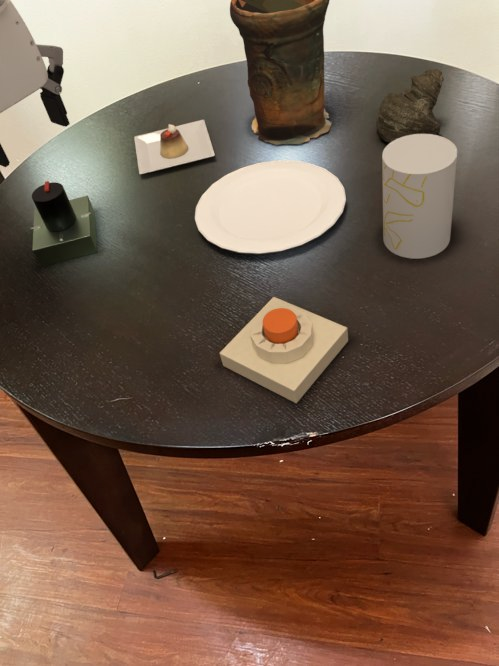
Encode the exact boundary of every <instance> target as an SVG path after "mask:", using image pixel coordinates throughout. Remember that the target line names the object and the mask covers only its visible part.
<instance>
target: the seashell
mask: <svg viewBox="0 0 499 666" xmlns="http://www.w3.org/2000/svg"><path fill="white" fill-rule="evenodd" d="M410 80H411V85H410V88H409V89H408V90H404V92H401V93H391V92H390V93H387V95H386V96H385V97H384V98H383V99H382V101H381V104H380V106H379V111H378V117H377V119H376V122H375V126H376V128H377V132H378V135H379V137H380V139H382V140H383V141H384V142H386V143H388V144H389V143H391V142H392V141H394V140H396V139H398V138H401V137H404V136H407V135H413V134H432V135H437V134H438V133H439V132H440V131H441V129H442V125H441V124H440V123H439V121H438V120H437V119H436V117H435V114H434V111H433V110H434V108H435V106H436V105H437V101H438V98H439V95H440V93H441V90H442V86H443V82H444V77H443V72H442V71H441V69H438V68H436V69H427V70H425V71H424V72H423V73H422V74H420V75H419V74H417V75H413V76H411V77H410Z"/></svg>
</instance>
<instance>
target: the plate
mask: <svg viewBox="0 0 499 666" xmlns="http://www.w3.org/2000/svg"><path fill="white" fill-rule="evenodd" d="M343 185H344V184H343V183H342V182H341V180H340V179H339V178H338V176H337V175H335V174H333V173H332V172H330V171H329V170H327V169H326V168H324V167H321V166H319V165H317V164H313V163H311V162H305V161H301V160H293V159H291V160H290V159H289V160H288V159H286V160H284V159H283V160H280V159H277V160H269V161H261V162H257V163H254V164H253V163H252V164H249V165H246V166H243V167H241V168H238V169H236V170H233V171H231V172H229V173H227V174H225V175H224V176H222V177H220V178H219V179H218V180H217V181H215V182H213V183H212V184H211V185H210V186H209V187H208V188H207V189H206V190H205V192H204V193H202V194H201V197H200V198H199V200H198V202H197V203H196V205H195V211H194V221H195V224H196V228H197V230H198V232H199V233H200V234H201V235H202V236H203V238H204V239H205V240H206V241H207V242H209V243H211V244H213V245H214V246H216V247H217V248H220V249H221V250H226V251H229V252H232V253H237V254H244V255H245V254H246V255H268V254H274V253H275V254H276V253H283V252H286V251H289V250H293V249H296V248H300V247H302V246H305V245H306V244H308V243H310V242H313V241H314V240H316V239H318V238H321V236H323V235H325V233H326V232H328V231H329V230H330V229H332V228H333V227H334V226H335V224H336V223H337V222H338V220H340V218H341V216H342V215H343V213H344V209H345V206H346V202H347V197H346V190H345V187H344V186H343Z"/></svg>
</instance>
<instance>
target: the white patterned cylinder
mask: <svg viewBox="0 0 499 666" xmlns="http://www.w3.org/2000/svg"><path fill="white" fill-rule="evenodd" d="M381 155H382V157H381V158H382V159H381V160H382V161H381V163H382V164H381V165H382V166H381V167H382V169H381V170H382V242H383V245H384V246H385V247H386V248H387V250H388V251H390V253H392V254H394V255H396V256H399V257H401V258H407V259H417V260H418V259H426V258H431V257H433V256H436V255H438V254H440V253H441V252H443V251H444V250H445V249H446V248H447V247H448V246H449V244H450V243H451V233H452V223H453V222H452V221H453V209H454V198H455V186H456V185H455V184H456V175H457V174H456V173H457V162H458V148H457V146H456V145H455V143H453V141H451V140H450V139H448V138H446V137H443V136H440V135H437V134H434V135H432V134H413V135H407V136H404V137H401V138H398V139H396V140H394V141H392V142H391V143H388V144H387V145H386V146H385V147H384V149H383V151H382V154H381Z"/></svg>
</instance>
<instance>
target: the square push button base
mask: <svg viewBox="0 0 499 666" xmlns="http://www.w3.org/2000/svg"><path fill="white" fill-rule="evenodd" d="M278 308H286V309H289V310H291V311H293V312H294V313H295V315H296V317H297V323H298V334H297V336H296V337H295V338H294V339H293V340H291V341H289V342H287V343H283V344H277V343H273V342H271V341H269V340H268V339H267V338H266V336H265V332H264V328H263V318H264V316H265V315H266V314H267V313H268V312H270V311H271V310H274V309H278ZM348 331H349V330H348V327H347V326H345V325H342V324H340V323H337V322H335V321H332V320H330V319H329V318H326V317H324V316H320V315H319V314H316V313H314V312H311V311H309V310H306V309H305V308H302V307H299V306H297V305H295V304H292V303H289V302H288V301H285V300H283V299H280V298H278V297H275V296H273V297H272V298H271V299H270V300H269V301H268V302H267V303H266V304H265V305H264V306H263V307H262V308H261V309H260V310H259V311H258V313H256V314H255V315H254V316H253V318H251V320H250V321H249V322H248V323H247V324H246V325H245V326H243V328H242V329H241V330H240V331H239V332H238V333H237V334H236V335H235V336H234V337H233V338H232V339H231V340H230V341H229V342H228V343H227V345H226V346H225V347H224V348H223V349H222V350H220V351H219V356H220V360H221V363H222V366H223V367H224V368H227V369H228V370H230V371H232V372H233V373H236V374H238V375H240V376H242V377H244V378H245V379H247V380H250V381H252V382H253V383H255V384H258V385H260V386H262V388H263V387H264V388H265V389H267V390H269V391H271V392H273V393H275V394H277V395H279V396H281V397H283V398H285V399H286V400H289V401H291V402H293V403H294V404H298V402H299V401H300V400H301V399H302V398H303V396H304V395H305V394H306V393H307V392H308V390H310V388H311V387H312V386H313V384H314V383H315V382H316V380H318V378H319V377H320V376H321V375H322V374H323V372H324V371H325V370H326V369H327V368H328V367H329V365H330V364H331V362H333V360H334V359H335V358H336V357H337V356H338V354H339V353H340V352H341V351H342V349H343V348H344V347H345V346H346V345H347V343H348V342H349V332H348Z"/></svg>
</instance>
